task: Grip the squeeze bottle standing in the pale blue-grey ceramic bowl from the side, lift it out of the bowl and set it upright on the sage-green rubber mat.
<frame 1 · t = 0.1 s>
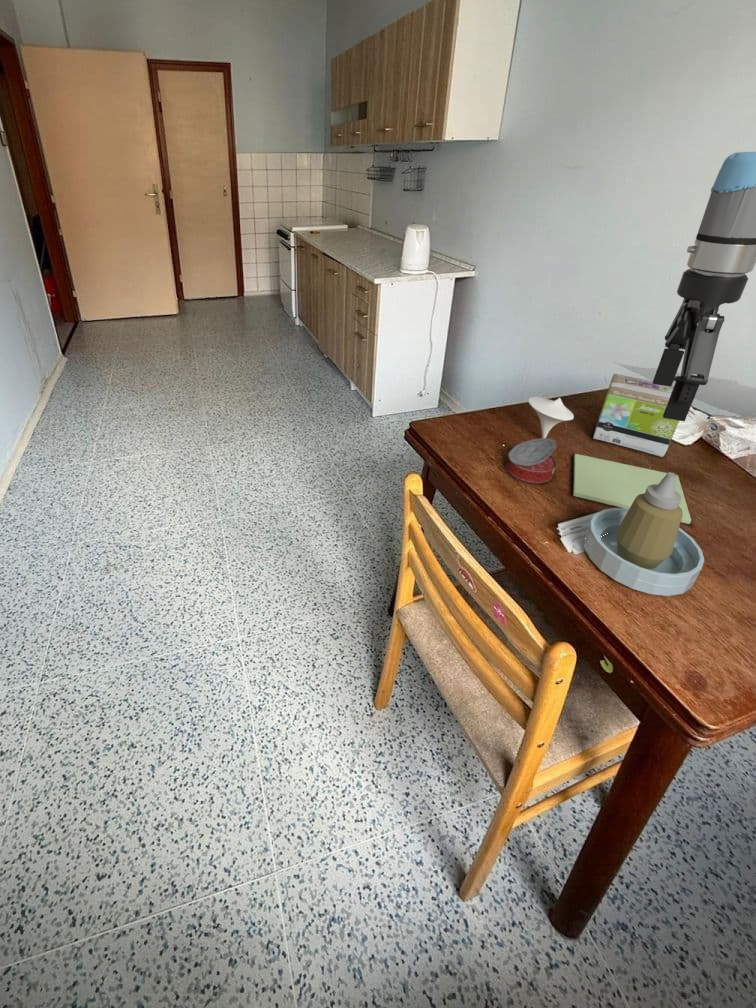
hand: (667, 400, 79), 27 cm above the table, tool pointing down, fingers open, 13 cm apart
squeeze bottle: (636, 558, 83), resting on bowl
tea box: (628, 440, 117), on the table
mat: (625, 487, 101), on the table
canned food: (528, 470, 107), on the table
bowl: (635, 560, 83), on the table
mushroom: (542, 440, 118), on the table
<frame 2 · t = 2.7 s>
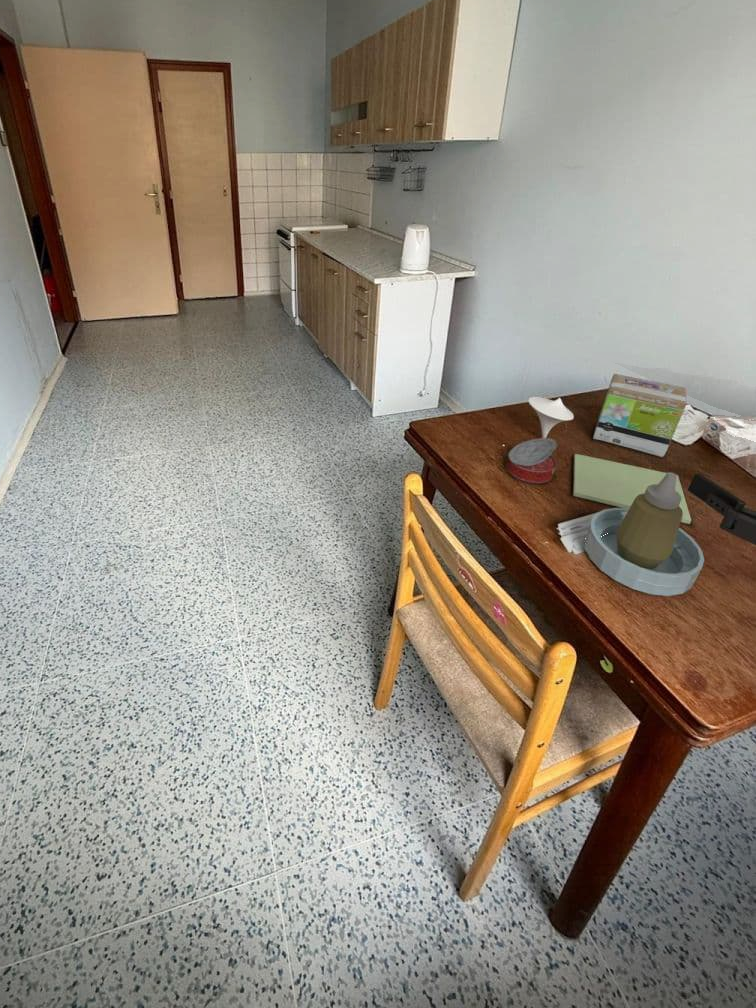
hand: (735, 478, 66), 23 cm above the table, tool horizontal, fingers open, 13 cm apart
nothing on the table moved.
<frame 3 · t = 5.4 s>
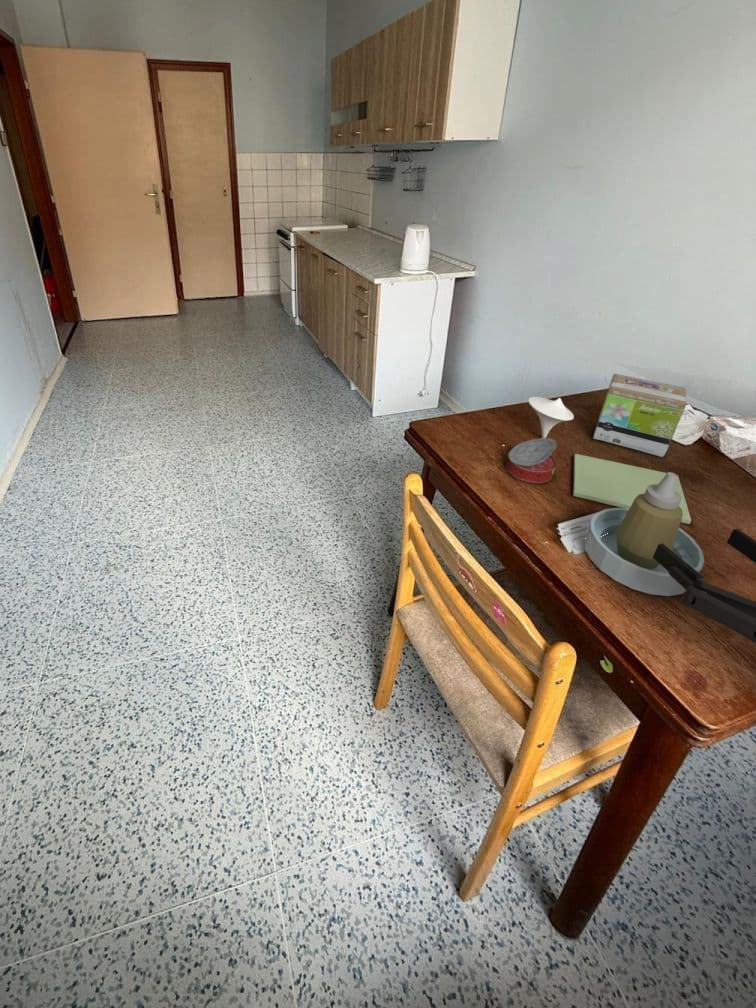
hand: (695, 542, 72), 11 cm above the table, tool horizontal, fingers open, 13 cm apart
nothing on the table moved.
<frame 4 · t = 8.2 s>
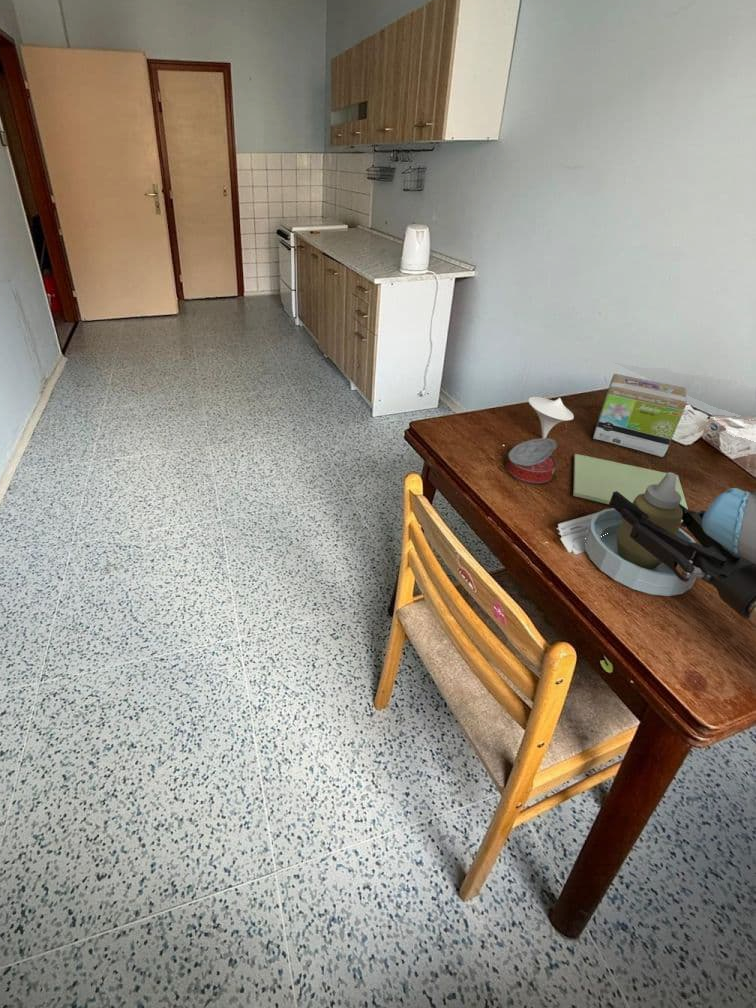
hand: (630, 494, 82), 11 cm above the table, tool horizontal, fingers closed on squeeze bottle, 6 cm apart
squeeze bottle: (636, 558, 83), resting on bowl, touching gripper
everything else where it was.
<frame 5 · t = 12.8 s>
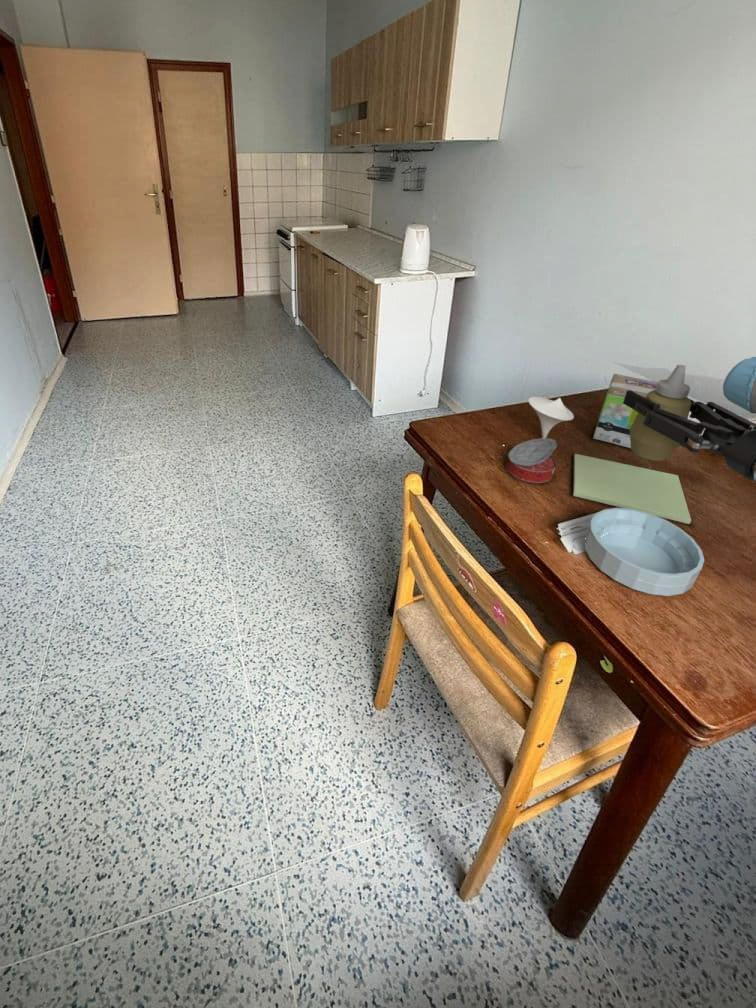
hand: (642, 394, 89), 23 cm above the table, tool horizontal, fingers closed on squeeze bottle, 6 cm apart
squeeze bottle: (648, 453, 90), point 13 cm above the table, touching gripper
everything else where it was.
when the fingers open (11 cm above the table, at t = 17.3 s): squeeze bottle stays where it is, resting on mat.
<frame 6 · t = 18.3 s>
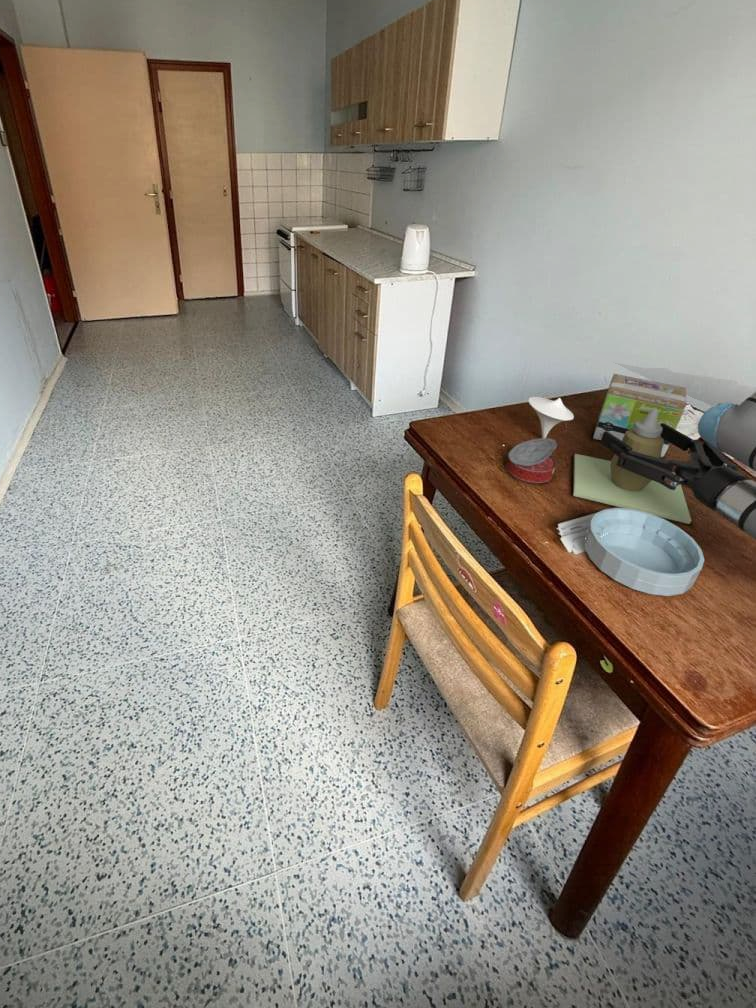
hand: (631, 432, 98), 12 cm above the table, tool horizontal, fingers open, 13 cm apart
squeeze bottle: (626, 484, 100), point 1 cm above the table, touching mat
everything else where it was.
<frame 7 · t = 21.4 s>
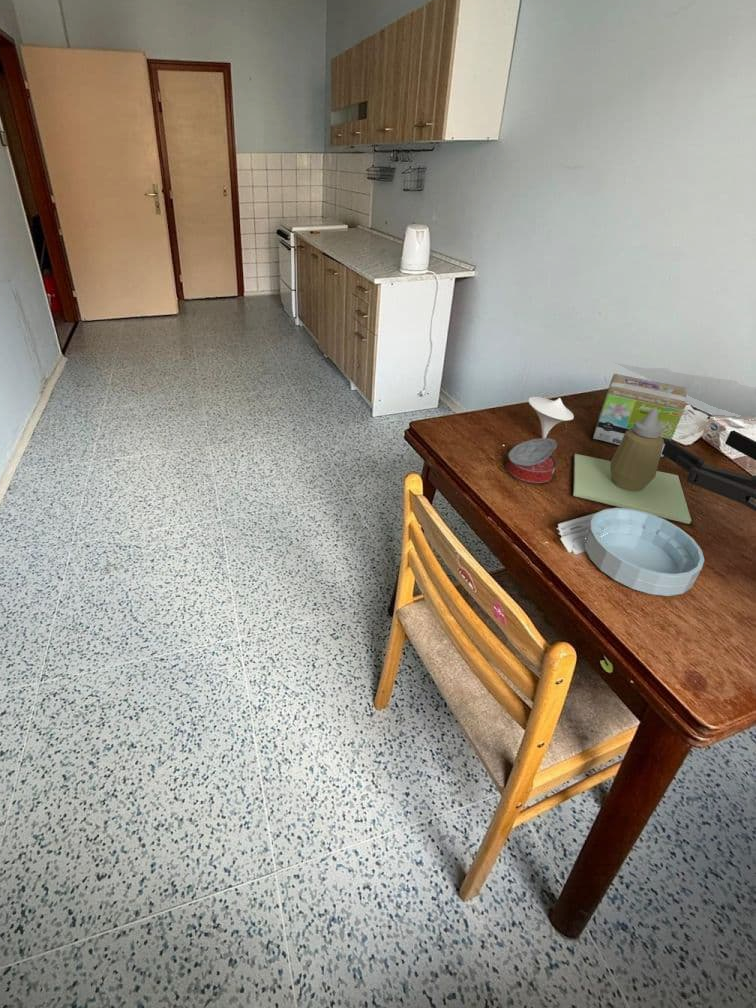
hand: (697, 442, 84), 17 cm above the table, tool horizontal, fingers open, 13 cm apart
nothing on the table moved.
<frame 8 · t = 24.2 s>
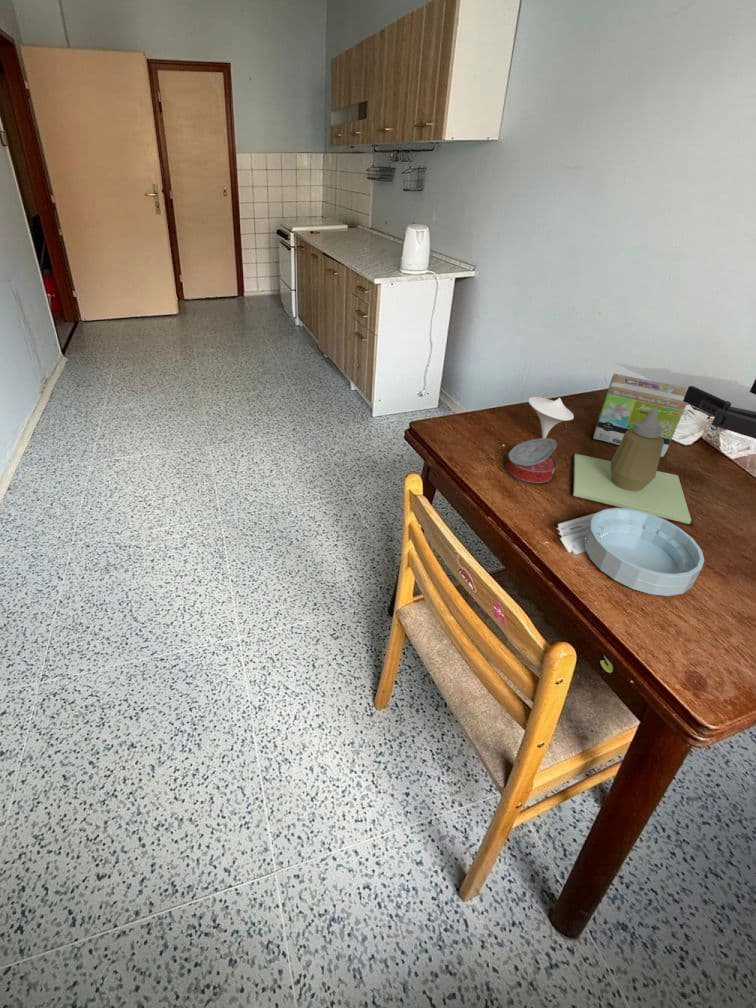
hand: (721, 388, 79), 28 cm above the table, tool horizontal, fingers open, 13 cm apart
nothing on the table moved.
at the end: squeeze bottle inside the target area on the mat (0.0 cm from its centre), point 0.8 cm above the mat's base; squeeze bottle tilted 0°; squeeze bottle touching mat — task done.
